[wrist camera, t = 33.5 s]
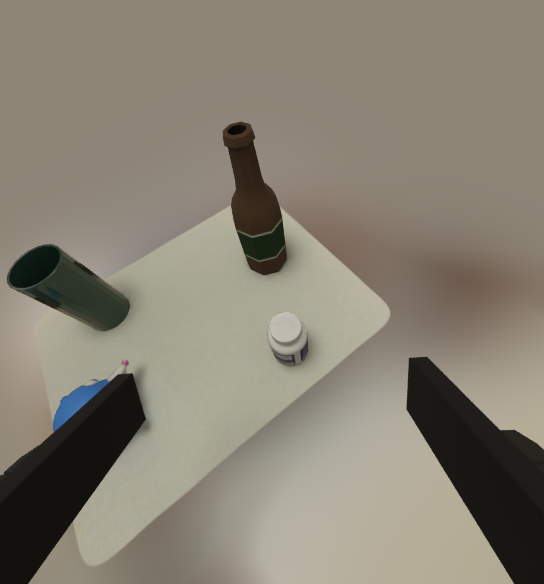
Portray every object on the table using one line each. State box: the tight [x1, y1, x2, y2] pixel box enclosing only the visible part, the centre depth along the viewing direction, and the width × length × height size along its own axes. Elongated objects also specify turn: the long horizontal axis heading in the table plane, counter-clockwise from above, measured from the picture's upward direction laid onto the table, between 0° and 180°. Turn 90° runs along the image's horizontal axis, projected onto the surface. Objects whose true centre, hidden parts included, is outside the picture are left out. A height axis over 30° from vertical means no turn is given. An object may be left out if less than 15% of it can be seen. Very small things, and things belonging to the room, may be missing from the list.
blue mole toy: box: [53, 360, 129, 432], centre depth 35 cm, size 12×12×8 cm
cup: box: [7, 244, 129, 331], centre depth 41 cm, size 7×7×15 cm
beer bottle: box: [223, 122, 287, 275], centre depth 38 cm, size 8×8×24 cm
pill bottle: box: [267, 312, 308, 366], centre depth 35 cm, size 5×5×10 cm
